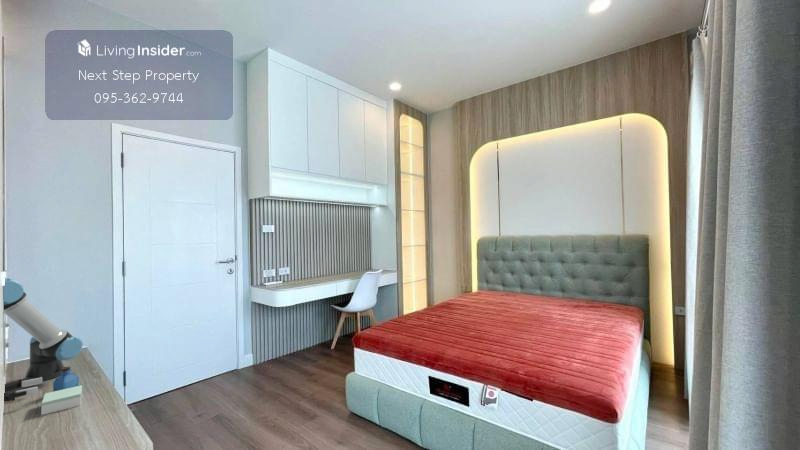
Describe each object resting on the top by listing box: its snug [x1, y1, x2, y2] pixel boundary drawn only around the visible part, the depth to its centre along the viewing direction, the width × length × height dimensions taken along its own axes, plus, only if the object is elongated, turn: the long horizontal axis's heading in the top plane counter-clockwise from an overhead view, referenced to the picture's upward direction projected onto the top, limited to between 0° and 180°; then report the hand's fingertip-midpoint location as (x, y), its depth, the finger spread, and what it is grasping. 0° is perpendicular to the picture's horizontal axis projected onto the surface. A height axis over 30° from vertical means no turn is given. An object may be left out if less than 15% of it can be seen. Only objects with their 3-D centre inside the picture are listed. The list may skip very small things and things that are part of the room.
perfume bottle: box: [52, 366, 79, 392], centre depth 162 cm, size 6×6×12 cm
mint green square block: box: [40, 384, 83, 416], centre depth 150 cm, size 12×12×5 cm
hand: (40, 384), depth 156 cm, fingers open, 13 cm apart
